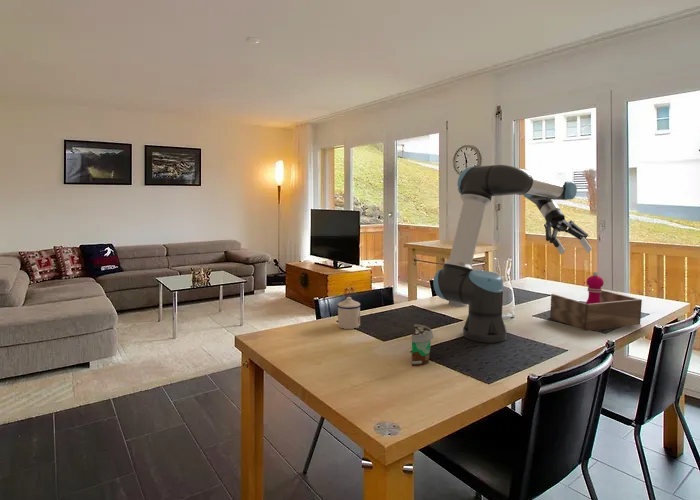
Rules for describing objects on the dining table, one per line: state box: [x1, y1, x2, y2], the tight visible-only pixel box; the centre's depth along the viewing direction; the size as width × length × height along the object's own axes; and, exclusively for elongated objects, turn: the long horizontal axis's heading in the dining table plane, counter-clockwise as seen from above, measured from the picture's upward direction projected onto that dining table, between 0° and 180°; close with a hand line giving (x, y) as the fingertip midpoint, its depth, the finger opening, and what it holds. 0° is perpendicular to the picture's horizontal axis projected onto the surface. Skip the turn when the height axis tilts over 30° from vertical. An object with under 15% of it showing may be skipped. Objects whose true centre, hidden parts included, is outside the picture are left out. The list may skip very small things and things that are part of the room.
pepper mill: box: [585, 271, 605, 304], centre depth 178 cm, size 7×7×20 cm
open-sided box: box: [549, 289, 643, 332], centre depth 178 cm, size 19×26×10 cm
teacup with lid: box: [337, 296, 362, 330], centre depth 175 cm, size 12×9×12 cm
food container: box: [411, 323, 434, 367], centre depth 137 cm, size 12×6×10 cm, turn 168°
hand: (576, 251), depth 186 cm, fingers open, 13 cm apart
